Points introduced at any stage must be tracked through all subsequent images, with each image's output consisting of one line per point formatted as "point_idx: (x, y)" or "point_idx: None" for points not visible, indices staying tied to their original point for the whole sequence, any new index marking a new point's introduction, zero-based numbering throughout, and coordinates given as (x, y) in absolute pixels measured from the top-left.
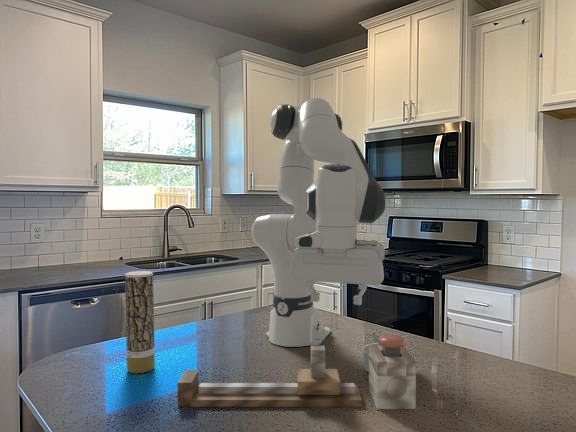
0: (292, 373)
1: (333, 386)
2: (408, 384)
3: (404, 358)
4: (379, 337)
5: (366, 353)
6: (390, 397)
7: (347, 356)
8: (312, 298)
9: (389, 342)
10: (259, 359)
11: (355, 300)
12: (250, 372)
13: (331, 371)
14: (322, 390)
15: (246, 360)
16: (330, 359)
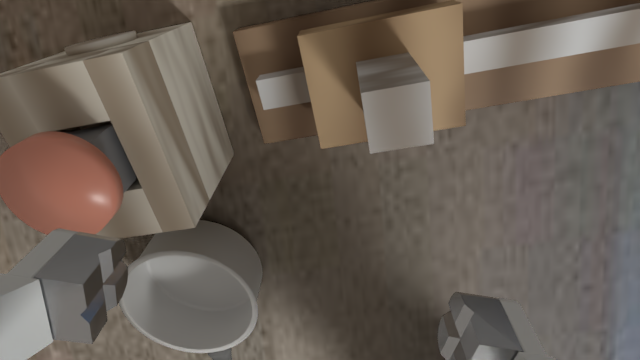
0: (464, 215)
1: (322, 28)
2: (58, 56)
3: (25, 113)
4: (109, 198)
5: (239, 276)
6: (137, 36)
7: (315, 331)
8: (512, 312)
9: (46, 141)
10: (566, 288)
11: (79, 254)
12: (598, 204)
13: (337, 122)
14: (362, 18)
15: (608, 277)
16: (359, 310)
